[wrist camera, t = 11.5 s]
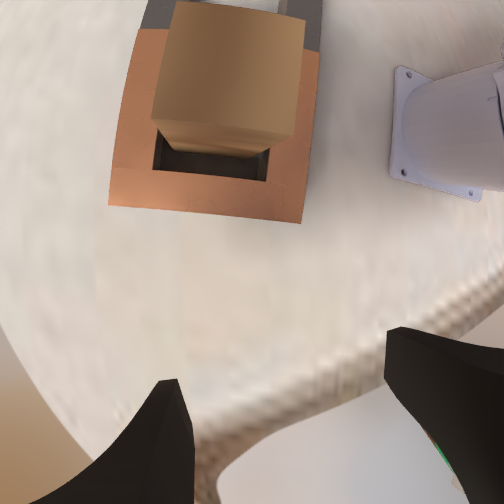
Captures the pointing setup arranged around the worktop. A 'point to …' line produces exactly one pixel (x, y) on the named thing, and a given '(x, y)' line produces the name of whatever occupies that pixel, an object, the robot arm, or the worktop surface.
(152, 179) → the rail
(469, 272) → the worktop surface
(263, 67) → the peg
